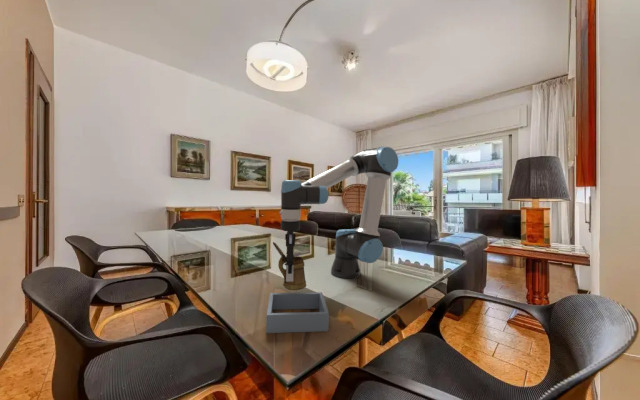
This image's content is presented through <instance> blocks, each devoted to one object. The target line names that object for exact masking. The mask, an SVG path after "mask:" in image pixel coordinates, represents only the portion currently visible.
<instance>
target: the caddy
mask: <svg viewBox="0 0 640 400" xmlns="http://www.w3.org/2000/svg"><path fill="white" fill-rule="evenodd" d="M324 297H325V296H324V294H323V292H318V291H317V292H270V293H269V297H268V305H267V310H266V322H265V323H266V324H265V326H266V327H265V331H266V332H265V334H276V333H277V334H281V333H283V334H284V333H309V332H311V333H313V332H315V333H316V332H329V327H330V326H329V324H330V312H329V310H328V305H327V302H326V300H325V298H324ZM305 309H306V310H310V309H312V310H317V309H318V311H309V312H304V311H303V312H274V310H305Z"/></svg>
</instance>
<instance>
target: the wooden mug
mask: <svg viewBox="0 0 640 400" xmlns="http://www.w3.org/2000/svg"><path fill="white" fill-rule="evenodd" d="M272 244H273V247H274V249H275V250H276V251H277V252H278V254H279V255H280V258H279V260H278V269H279V271H280V273H281V274H282V276H283V284H282V286H283V287H284V288H285V289H286V290H288V291H300V290H303V289H305V288H306V287H307V281H306V275H305V261H304V257H302V256H297V255H296V256H295V255H294V268H293V281H289V282H286V268H284V265H285V263H287V257H286V255H285V253H284V251H282V249H281V247H279V245H278V244H277V242H274V241H273V242H272ZM290 262H292V261H290Z"/></svg>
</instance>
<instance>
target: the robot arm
mask: <svg viewBox="0 0 640 400" xmlns="http://www.w3.org/2000/svg"><path fill="white" fill-rule="evenodd" d="M398 166H399V157H398V154H397V152H396V151H395V149H394V148H392V147H391V146H379V147H375V148H367V149H363V150H362V151H359V152H357V153H355V154H354V155H352V156H350V157H347V158H346V159H345V161H344V162H342V163H341V164H338V165H337V166H334V167H332V168H330V169H328V170H326V171H324V172H322V173H320V174H318V175H316V176H314V177H312V178H309V179H307V180H306V181H304V182H302V181H300V180H298V179H297V180H296V179H295V180H294V179H292V180H291V179H290V180H289V179H285V180H284V179H283V181H281V190H280V194H281V195H280V196H281V197H280V200H281V201H280V202H281V204H280V206H281V207H280V211H279V213H278V214H280V219H281V221H280V230H281V231H285V232H286V233H285V234H284V235H285V236H284V237H285V238H284V240H285V247H286V255H285V256H286V257H287V263H284V266H285V267H286V268H285V269H286V282H289V281H293V268H294V256H295V253H294V252H295V245H296V233H294V232H297V231H300V229H301V221H300V219H301V211H302V210H301V208H302V207H301V205H323V204H326V203H327V202H328V200H329V195H330V194H329V188H331V187H333V186H334V185H337V184H338V183H340V182H342V181H345V180H346V179H348V178H350V177H356V176H359V175H360V174H365V175H366V177H367V182H366V186H365V193H364V198H363V205H362V209H361V215H360V221H359V227H357V228H356V229H355V228H350V229H349V228H348V229H346V228H345V229H338V230H337V231H336V234H335V251H334V260H333V262H332V265H331V268H330V273H331V275H332V276H333V277H337V278H341V279H356V278H358V277H357V276H359V275H360V276H361V268H360V264H359V261H360V262H362V263H366V264H373V263H376V262H377V261H378V260H379V259H380V258H381V256H382V254H383V251H384V244H383V243H382V241H381V240H380V237H381V234H380V232H379V231H378V230H379V229H378V228H379V224H380V219H381V213H382V206H383V201H384V196H385V191H386V190H385V189H386V184H387V181H388V180H389V179H390V178H391V174H392V173H393V172H395V171H396V169H398ZM358 260H359V261H358ZM290 261H292V262H290ZM360 276H359V277H360ZM355 277H356V278H355Z"/></svg>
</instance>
